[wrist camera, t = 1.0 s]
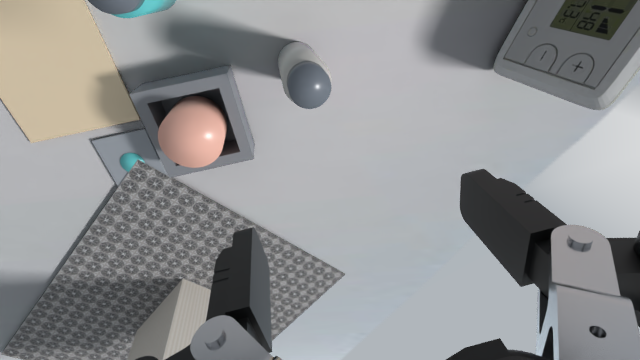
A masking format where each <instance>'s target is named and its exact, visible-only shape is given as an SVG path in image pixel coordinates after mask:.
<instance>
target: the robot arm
mask: <svg viewBox="0 0 640 360" xmlns="http://www.w3.org/2000/svg"><path fill="white" fill-rule="evenodd" d="M460 210H461V214H462V217H463V219H464V220H465V222H466V223H467V224H468V225H469V227H470V228H471V229H472V230H473V231H474V232H475V234H476V235H477V236H478V237H479V238H480V239H481V241H482V242H483V243H484V244H485V245H486V246H487V248H488V249H489V250H490V251H491V252H492V254H493V255H494V256H495V257H496V258H497V259H498V260H499V262H500V263H501V264H502V265H503V266H504V268H505V269H506V270H507V271H508V272H509V273H510V275H511V276H512V277H513V278H514V279H515V280H516V282H517V283H518V284H519V285H520V286H521V287H522V286H525V285H529V284H533V283H535V285H536V286H537V287H538V288H539V290H538V298H537V302H538V303H537V344H536V353H535V354H532V353H528V352H523V351H517V350H507V348H506V347H505V346H504V344H503V343H502V341H501V339H500V338H499V339H496V340H493V341H488V342H485V343H481V344H478V345H474V346H470V347H466V348H464V349H462V350H461V351H459V352H458V353H456V354H454V355H453V356H451V357H450V358H448V359H446V360H640V334H639V329H638V326H639V327H640V231H639V233H638V236H637V238H605V237H604V236H603V235H602V234H600V233H599V232H597V231H595V230H593V229H590V228H587V227H584V226H579V225H567V224H565V223H564V222H563V221H561V220H560V219H559V218H558V217H557V216H555V215H554V214H553V213H551V212H550V211H549V210H548V209H546V208H545V207H544V206H542V205H541V204H540V203H539V202H538V201H535V200H534V198H533V197H531V196H530V195H529V194H526V192H525V191H524V190H522V189H521V188H520V187H519V186H517V185H516V184H514V183H512V182H510V181H507V180H505V179H502V178H499V179H496V178H495V177H494V176H492V175H491V174H490V173H489V172H488V171H486V170H485V169H480V170H476V171H472V172H469V173H465V174H463V175H462V176H461V190H460ZM212 282H213V284H212V286H211V292H210V299H209V305H208V311H207V317H206V322H205V323H203V324H202V325H201V326H200V327H199V328H198V330H197V331H196V332H195V334H194V336H193V338H192V340H191V344H190V345H188V346H187V347H186V348H184V349H182V350H181V351H179V352H177V353H175V354H174V355H172V356H170V357H168V358H167V359H165V360H282V359H281V358H279V357H278V356H276V357H275V358H274V357H272V356H271V355H270V354H269V353H270V352H272V336H271V302H270V271H269V264H268V260H267V257H266V254H265V252H264V249H263V246H262V244H261V241H260V239H259V236H258V234H257V231H256V229H255V228H254V227H251V228H247V229H244V230H240V231H236V232H234V234H233V241H232V247H228V248H224V249H223V250H222V251H221V253H220V254H219V256H218V258H217V259H216V262H215V268H214V274H213V280H212ZM135 360H158V359H157V358H156V357H153V356H144V357H140V358H138V359H135Z"/></svg>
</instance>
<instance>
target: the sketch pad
mask: <svg viewBox="0 0 640 360" xmlns="http://www.w3.org/2000/svg"><path fill="white" fill-rule="evenodd" d="M0 98H1V100H2V101H3V103H4V104H5V106H6V107H7V108H8V110H9V111H10V113H11V114H12V116H13V117H14V119H15V120H16V122H17V123H18V124H19V126H20V127H21V129H22V130H23V132H24V133H25V135H26V136H27V138H28V139H29V141H30V142H31V143H34V142H39V141H43V140H48V139H53V138H57V137H62V136H66V135H71V134H76V133H80V132H85V131H90V130H94V129H99V128H103V127H108V126H113V125H117V124H122V123H127V122H131V121H136V120H140V119H141V118H140V116H139V114H138V112H137V110H136V107H135V105H134V103H133V101H132V99H131V97H130V95H129V93H128V91H127V89H126V87H125V84H124V82H123V80H122V78H121V76H120V74H119V72H118V70H117V68H116V66H115V63H114V61H113V59H112V57H111V55H110V53H109V51H108V49H107V47H106V45H105V43H104V40H103V38H102V36H101V34H100V32H99V30H98V28H97V26H96V24H95V22H94V19H93V17H92V15H91V13H90V11H89V9H88V7H87V5H86V3H85V1H84V0H0Z"/></svg>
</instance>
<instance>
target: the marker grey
mask: <svg viewBox="0 0 640 360" xmlns="http://www.w3.org/2000/svg"><path fill="white" fill-rule="evenodd" d="M278 66H279V71H280V75H281V80H282V84H283V88H284V91H285V93H286V95H287V97H288V98H289V99H290V100H291V101H293V102H294V103H295V104H297V105H298V106H300V107H302V108H306V109H312V108H317V107H319V106H321V105H322V104H323V103H324V102H325V101H326V100H327V99H328V97H329V95H330V92H331V75H330V72H329V69H328V68H327V66H326V65H325V64H324V62H323V61H322V60H321V59H320V58H319V57H318V55H317V54H316V53H315V52H314V51H313V49H312V48H311V47H310V46H308V45H307V44H305V43H303V42H292V43H289V44H287V45H286V46H285V47H284V48H283V49H282V50H281V52H280V54H279V57H278Z"/></svg>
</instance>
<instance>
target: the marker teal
mask: <svg viewBox="0 0 640 360" xmlns="http://www.w3.org/2000/svg"><path fill="white" fill-rule="evenodd" d="M88 1H89V2H90V3H91V4H92V5H93V6H95V7H96V8H98V9H99V10H101V11H103V12H105V13H109V14H112V15H114V16H117V17H121V18H133V17H137V16H142V15H146V14H150V13H155V12H159V11H163V10H167V9H169V8H170V7H171V6H172V5H173V4H174V3H175V1H176V0H88Z"/></svg>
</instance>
